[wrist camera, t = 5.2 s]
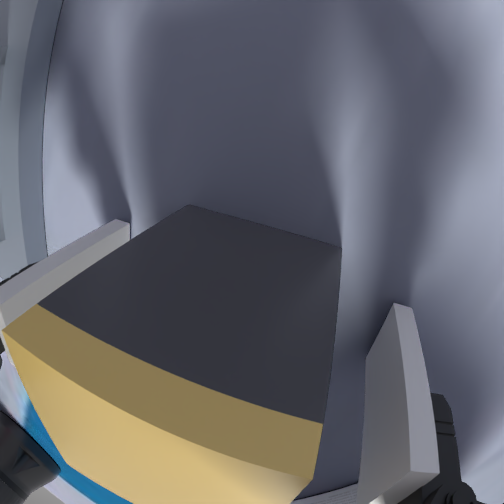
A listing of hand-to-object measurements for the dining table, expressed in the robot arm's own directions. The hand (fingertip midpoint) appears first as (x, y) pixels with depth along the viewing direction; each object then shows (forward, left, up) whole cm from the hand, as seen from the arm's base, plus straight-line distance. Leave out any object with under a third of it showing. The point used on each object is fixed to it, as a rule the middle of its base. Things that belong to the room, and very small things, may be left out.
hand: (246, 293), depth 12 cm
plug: (0, 0, 0) cm, 0 cm away
